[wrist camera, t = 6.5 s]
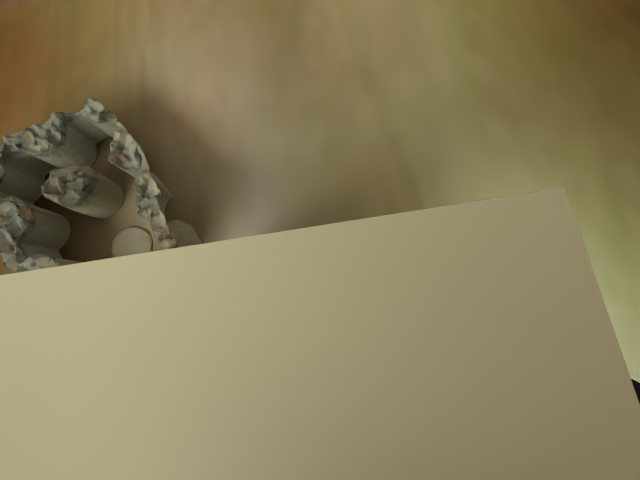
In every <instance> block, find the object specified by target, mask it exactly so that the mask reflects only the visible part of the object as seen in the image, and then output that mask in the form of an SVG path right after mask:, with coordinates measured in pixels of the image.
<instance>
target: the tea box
mask: <svg viewBox="0 0 640 480" xmlns="http://www.w3.org/2000/svg"><path fill="white" fill-rule="evenodd" d="M0 480H640V404H639V401H638V398H637V395H636V392H635V389H634V387H633V384H632V381H631V378H630V375H629V372H628V369H627V367H626V364H625V361H624V358H623V355H622V352H621V349H620V347H619V344H618V341H617V338H616V335H615V332H614V330H613V327H612V324H611V321H610V318H609V315H608V312H607V310H606V307H605V304H604V301H603V298H602V295H601V292H600V290H599V287H598V284H597V281H596V278H595V275H594V273H593V270H592V267H591V264H590V261H589V258H588V255H587V253H586V250H585V247H584V244H583V241H582V238H581V235H580V233H579V230H578V227H577V224H576V221H575V218H574V215H573V213H572V210H571V207H570V204H569V201H568V198H567V196H566V193H565V190H564V187H562V188H556V189H550V190H543V191H537V192H530V193H524V194H518V195H511V196H505V197H498V198H492V199H486V200H479V201H473V202H466V203H460V204H454V205H447V206H441V207H434V208H428V209H422V210H415V211H409V212H402V213H396V214H390V215H383V216H377V217H370V218H364V219H358V220H351V221H345V222H339V223H332V224H326V225H319V226H313V227H307V228H300V229H294V230H287V231H281V232H275V233H268V234H262V235H255V236H249V237H243V238H236V239H230V240H223V241H217V242H211V243H204V244H198V245H191V246H185V247H179V248H172V249H166V250H159V251H153V252H147V253H140V254H134V255H127V256H121V257H115V258H108V259H102V260H95V261H89V262H83V263H76V264H70V265H64V266H57V267H51V268H44V269H38V270H32V271H25V272H19V273H12V274H6V275H0Z"/></svg>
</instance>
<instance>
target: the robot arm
mask: <svg viewBox="0 0 640 480" xmlns="http://www.w3.org/2000/svg"><path fill="white" fill-rule="evenodd" d="M631 381H632V384H633V387H634V389H635V392H636V395H637V398H638V401H639V404H640V383H639V382H637V381H635V380H633V379H631Z"/></svg>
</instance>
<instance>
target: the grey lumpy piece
mask: <svg viewBox="0 0 640 480" xmlns="http://www.w3.org/2000/svg"><path fill="white" fill-rule="evenodd" d="M84 105H85V108H84V109H82V110H80V111H78V112H76V113H70V114H66V113H62V112H54V113H51V116H50V118H49V120H48V121H47V122H45V123H42V124H37V125H29V126H28V127H27V128H26V129H25V130H24V131H21V132H17V133H14V134H11V135H6V136H3V138H4V142H3V143H2V144H1V145H0V253H1V256H2V259H3V262H4V265H5V267H6V268H7V270H8V271H9V273H10V274H12V273H19V272H25V271H32V270H38V269H44V268H51V267H57V266H64V265H70V264H76V263H83V262H78V261H72V260H67V259H63V258H62V256H61V254H60V252H59V250H60V249H61V248H62V247H63V246H64V245H65V244H66V242H67V241H68V238H69V236H70V232H71V228H70V224H69V222H68V220H67V219H66V218H65V217H64V216H63V215H60V214H57V213H54V212H51V211H49V210H46V209H43V208H40V207H37V206H34V202H35V201H37V200H38V199H39V197H40V196H41V195H42V194H43V195H44V197H45V198H47V199H49V200H51V201H53V202H55V203H57V204H59V205H61V206H63V207H66V208H68V209H71V210H74V211H76V212H79V213H82V214H85V215H87V216H90V217H94V218H101V219H105V218H108V217H111V216H113V215H114V214H115V213H117V211H118V210H119V209H120V208H121V206H122V204H123V200H124V193H123V190H122V188H121V186H119V185H118V184H117V183H116V182H114V181H112V180H111V179H109V178H107V177H105V176H104V175H102V174H100V173H99V172H97V171H95V170H94V169H92V168H91V166H92V165H93V164H94V162H95V160H96V157H97V148H96V144H97V143H98V142H100V141H102V140H103V139H105V138H107V137H109V136H111V137H112V138H114V140H113V141H112V142H111V143H110V154H109V156H108V158H107V159H108V161H109V162H110V163H111V164H112V165H115V166H117V167H118V168H120V169H122V170H123V171H125V172H127V173H128V174H130V175H131V176H133V177H134V178H136V179H135V180H134V183H133V185H132V187H133V188H134V189H135V190H136V191H137V192H138V196H137V201H136V205H137V206H138V207H139V209H140V210H139V212H138V214H139V215H140V216H141V217H143V218H145V219H147V220H150V225H151V227H152V230H153V232H154V234H155V235H156V237H157V239H158V240H159V242H160V244H161V246H162V249H163V250H166V249H172V248H179V247H185V246H191V245H198V244H202V241H201V239H200V237H199V235H198V234H197V233H196V231H195V230H194V229H193V227H192V226H191V224H185V223H184V222H182V221H180V220H170V221H166V220H165V208H166V205H167V203H168V202H169V200H170V199H171V198H172V197H173V195H172V194H171V193H170V191H169V190H168V189H167V188H166V187H165V186H164V184H163V183H162V182H161V181H160V179H159V178H158V177H157V176H156V175H155V174H153V173H152V172H150V168H149V165H148V163H147V160H146V157H145V155H144V153H145V152H144V150H143V148H142V146H141V145H140V144H139V143H138V142H137V141H136V140H135V139H133V138H132V137H131V135H130V134H129V133H128V131H127V130H126V129H125V128H124V126H123V125H122V124H121V123H120V122H119V121H118V120H117V117H116V115H114V114H113V113H112V112H110V111H109V110H107V109H106V108H105V107H104V106H103V105H102V104H101V103H100V102H99V101H98V100H96V99H91V98H89V99H87V100H85V102H84ZM58 168H59V169H58ZM48 173H50V176H49V178H48V179H47V181H46V182H45V176H46V175H47V174H48ZM152 246H153V241H152V238H151V235H150V234H149V233H148V231H146V230H145V229H143V228H140V227H128V228H125V229H123V230H122V231H121V232H119V233H118V234H117V235H116V237H115V238H114V240H113V242H112V246H111V251H112V256H113V258H115V257H121V256H127V255H134V254H140V253H147V252H152Z"/></svg>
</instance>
